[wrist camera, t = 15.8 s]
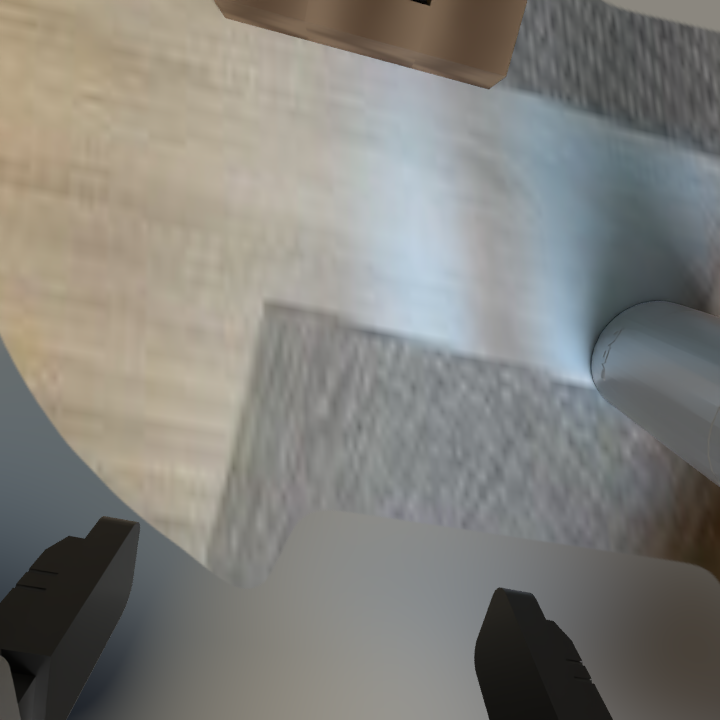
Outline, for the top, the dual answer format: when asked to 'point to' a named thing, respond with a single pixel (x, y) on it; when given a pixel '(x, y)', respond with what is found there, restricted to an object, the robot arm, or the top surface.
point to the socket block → (401, 31)
